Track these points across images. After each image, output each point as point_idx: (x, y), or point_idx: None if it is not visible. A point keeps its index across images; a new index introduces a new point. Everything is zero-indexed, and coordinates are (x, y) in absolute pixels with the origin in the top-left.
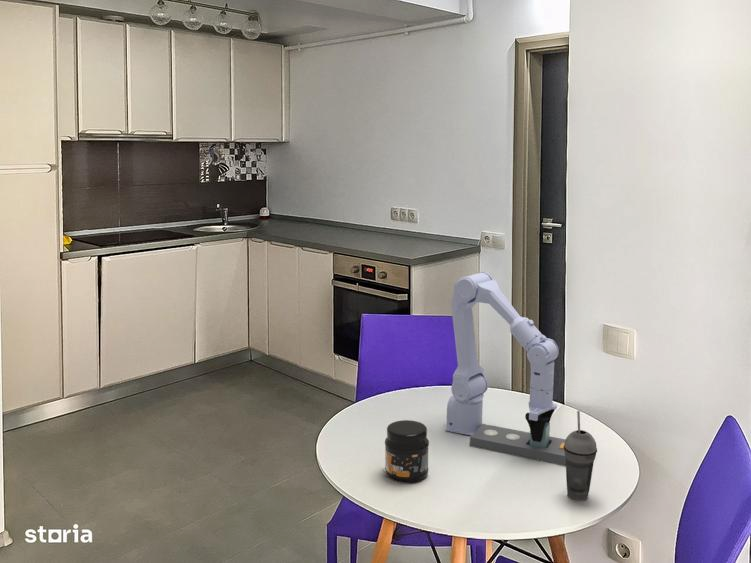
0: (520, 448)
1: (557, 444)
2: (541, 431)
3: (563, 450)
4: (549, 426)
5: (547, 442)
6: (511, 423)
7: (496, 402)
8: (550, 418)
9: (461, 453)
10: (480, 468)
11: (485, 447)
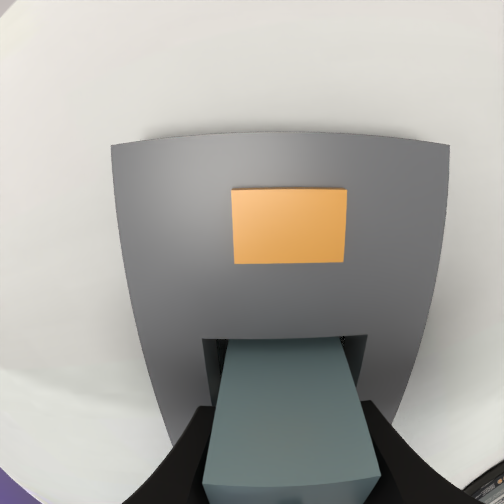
0: None
1: (258, 290)
2: (421, 464)
3: (359, 216)
4: (219, 455)
5: (276, 360)
6: (84, 454)
7: (22, 463)
8: (141, 501)
9: None
10: (477, 431)
11: None
